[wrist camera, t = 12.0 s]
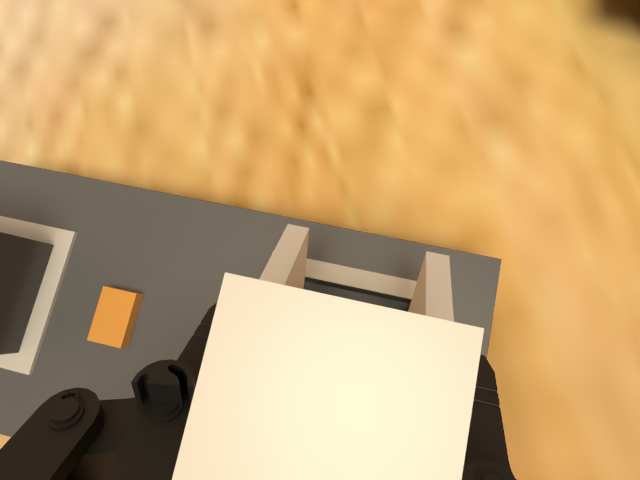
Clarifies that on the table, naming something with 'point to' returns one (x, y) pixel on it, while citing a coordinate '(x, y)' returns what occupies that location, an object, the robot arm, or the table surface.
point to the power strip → (164, 279)
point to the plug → (328, 390)
